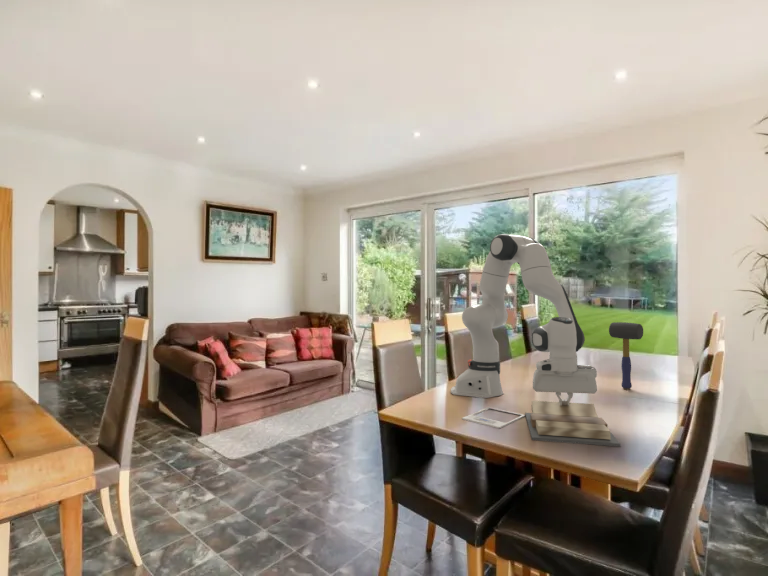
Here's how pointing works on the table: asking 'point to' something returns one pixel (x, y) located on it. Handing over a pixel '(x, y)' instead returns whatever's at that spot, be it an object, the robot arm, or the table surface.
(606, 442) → the underlay mat
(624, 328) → the rubber mallet
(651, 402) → the table surface
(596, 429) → the ash plank near
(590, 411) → the ash plank far
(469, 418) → the photo frame
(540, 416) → the striped wooden plank
